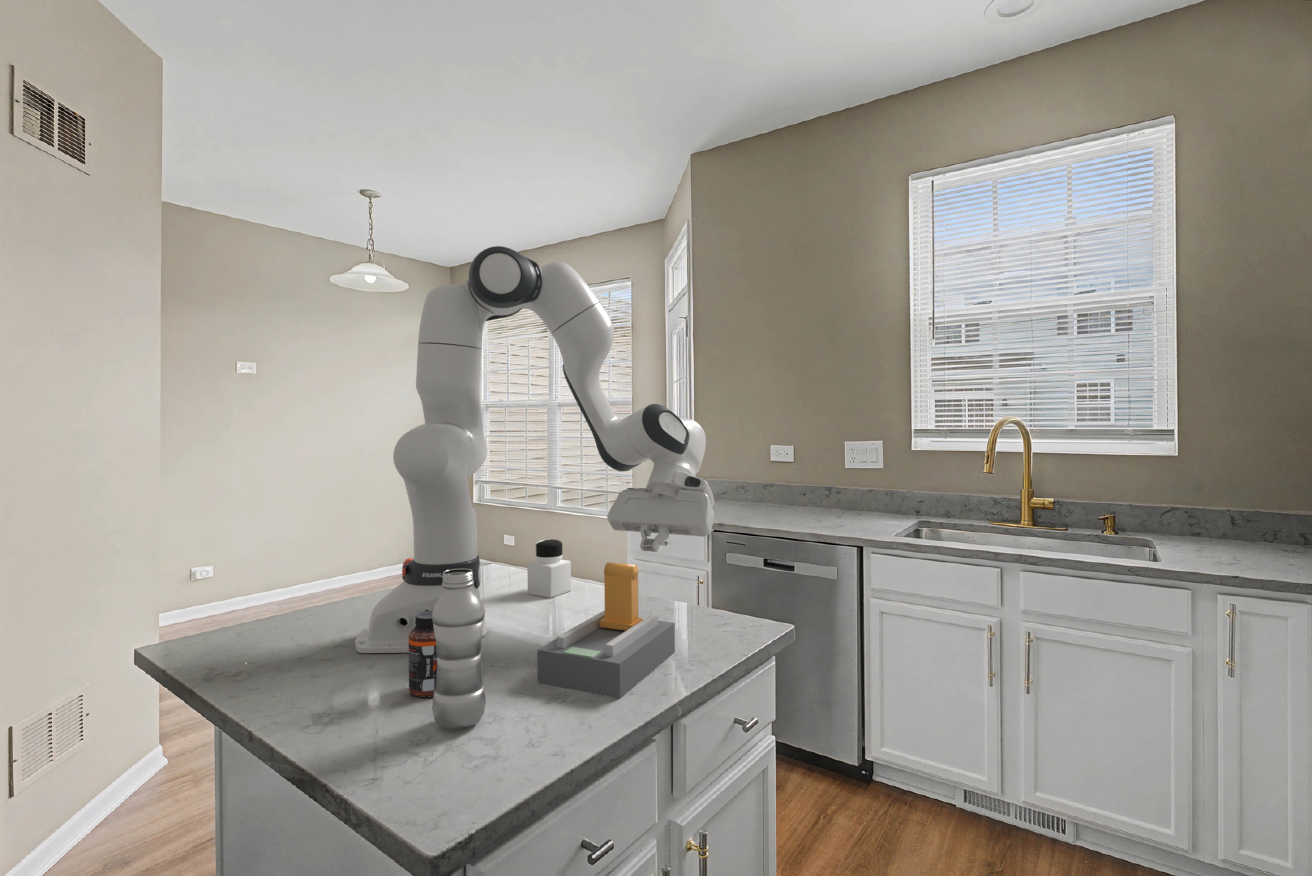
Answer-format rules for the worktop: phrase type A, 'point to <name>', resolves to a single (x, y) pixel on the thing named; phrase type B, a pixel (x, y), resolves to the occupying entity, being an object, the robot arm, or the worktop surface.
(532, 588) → the medicine bottle
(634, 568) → the handle
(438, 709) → the plastic bottle
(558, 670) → the breaker box
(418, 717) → the worktop surface
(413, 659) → the supplement bottle
